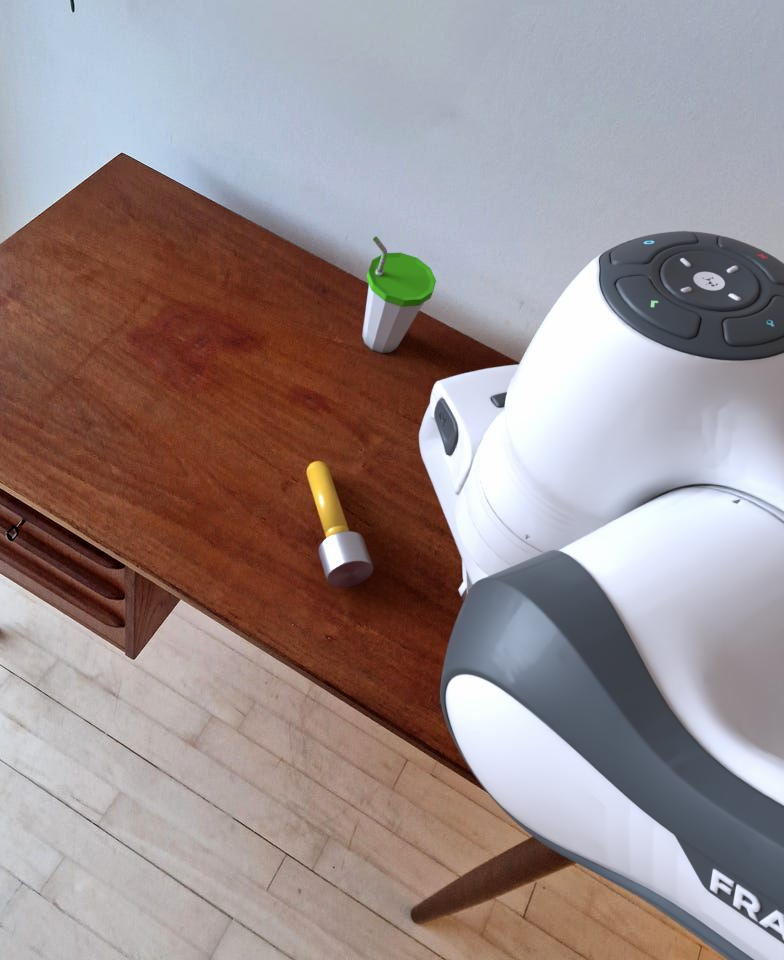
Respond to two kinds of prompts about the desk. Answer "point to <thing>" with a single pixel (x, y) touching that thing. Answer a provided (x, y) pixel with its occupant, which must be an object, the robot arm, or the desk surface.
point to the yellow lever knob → (337, 534)
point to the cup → (394, 297)
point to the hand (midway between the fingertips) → (477, 609)
